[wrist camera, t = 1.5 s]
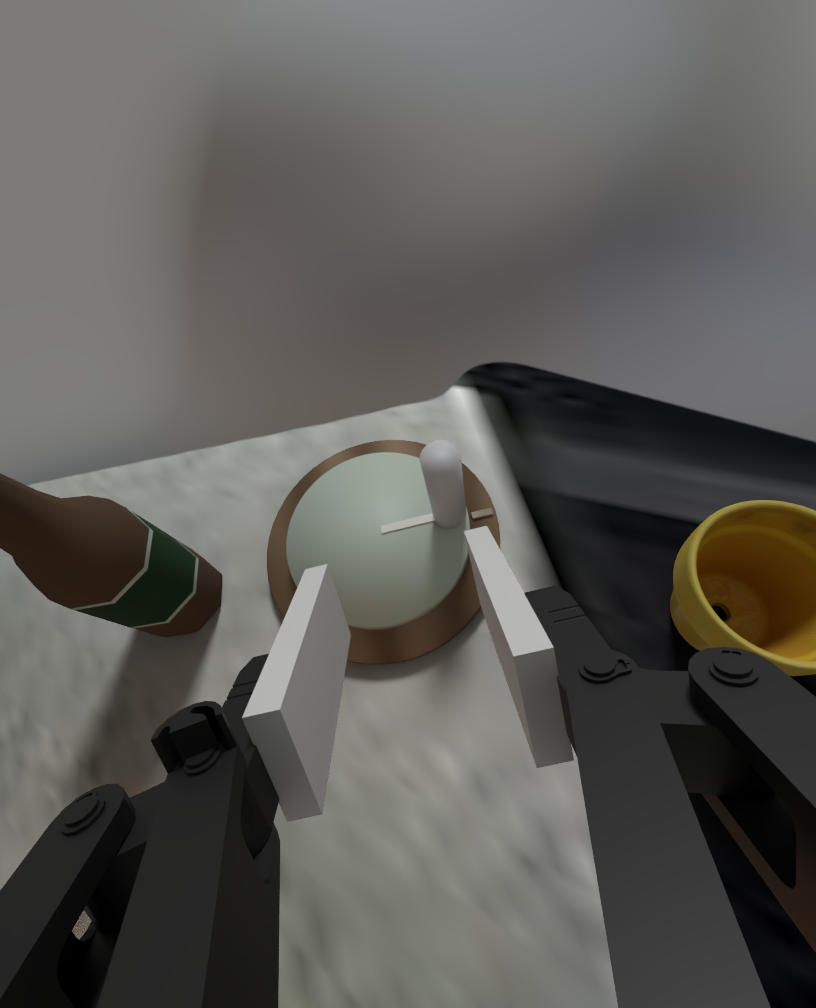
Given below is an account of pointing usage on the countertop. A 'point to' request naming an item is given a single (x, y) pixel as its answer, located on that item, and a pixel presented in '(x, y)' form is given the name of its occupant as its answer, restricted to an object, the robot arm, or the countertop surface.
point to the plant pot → (751, 583)
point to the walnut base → (420, 632)
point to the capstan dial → (385, 533)
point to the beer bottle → (106, 561)
